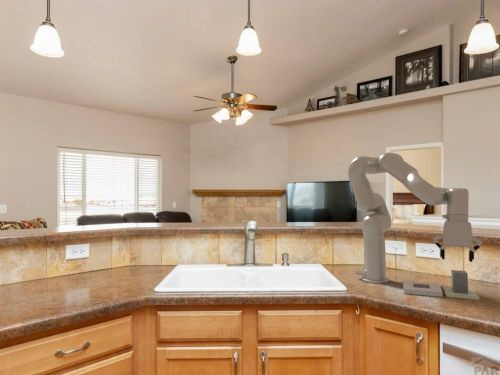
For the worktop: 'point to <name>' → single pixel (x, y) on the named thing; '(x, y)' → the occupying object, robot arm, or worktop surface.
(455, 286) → the block
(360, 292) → the worktop surface
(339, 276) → the worktop surface
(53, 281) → the worktop surface
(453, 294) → the board
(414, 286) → the socket plate
